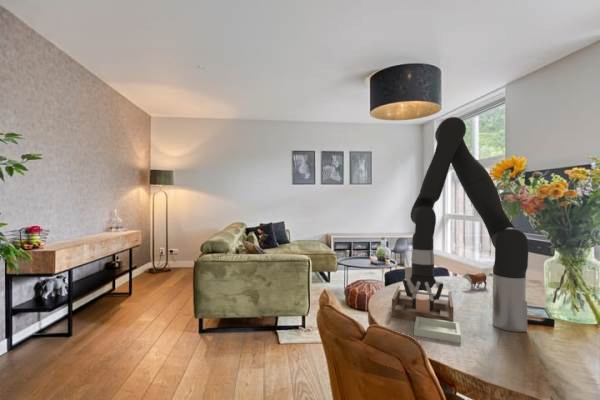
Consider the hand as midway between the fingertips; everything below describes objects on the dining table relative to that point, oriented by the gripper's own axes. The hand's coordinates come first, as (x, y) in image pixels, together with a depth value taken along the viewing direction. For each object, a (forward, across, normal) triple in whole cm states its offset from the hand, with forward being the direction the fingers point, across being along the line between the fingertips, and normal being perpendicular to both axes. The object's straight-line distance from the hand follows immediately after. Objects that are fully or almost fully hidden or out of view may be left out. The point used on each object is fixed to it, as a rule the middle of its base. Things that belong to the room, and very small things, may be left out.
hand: (422, 309), depth 114 cm
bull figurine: (+4, -22, -55) cm, 59 cm away
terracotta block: (+1, 0, 0) cm, 1 cm away
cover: (-4, 0, -11) cm, 12 cm away
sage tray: (+3, -5, +12) cm, 13 cm away
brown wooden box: (+3, 0, -6) cm, 7 cm away
